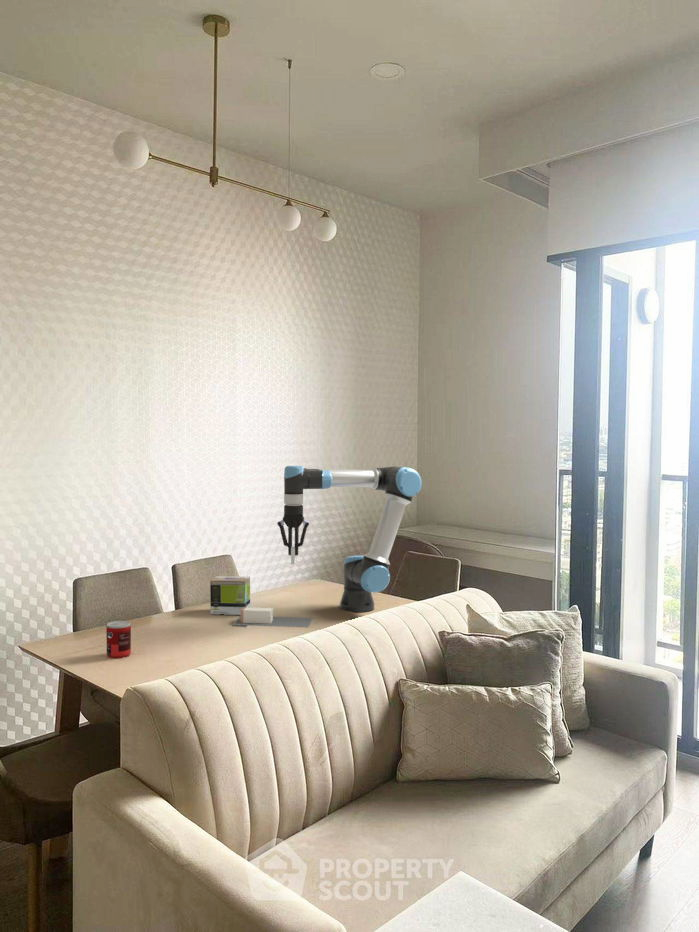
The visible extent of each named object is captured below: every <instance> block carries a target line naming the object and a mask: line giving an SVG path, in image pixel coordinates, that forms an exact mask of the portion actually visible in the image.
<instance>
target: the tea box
mask: <svg viewBox="0 0 699 932" xmlns="http://www.w3.org/2000/svg"><path fill="white" fill-rule="evenodd" d="M209 582H210V583H209V584H210V585H209V587H210V588H209V591H210V592H209V593H210V594H209V596H210V597H209V599H210V601H209V602H210V615H220V614H224V615H226V616H227V615H228V616H229V615H231V616H241V610H242V609H243V608H244V607H251V577H250V576H239V575H238V576H236V575H235V576H225V575H216V576H215V577H214V578H211V580H209Z"/></svg>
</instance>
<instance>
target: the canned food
mask: <svg viewBox="0 0 699 932" xmlns="http://www.w3.org/2000/svg"><path fill="white" fill-rule="evenodd" d="M105 630H106V631H105V632H106V637H105V638H106V656H107V658H109V657H110V659H123V657H125V658H128V657H129V656H130V655H131V653H132V650H131V649H132V643H131V642H132V633H131V632H132V626H131V622H130V621H127V620H115V621H109V622H107V624H106V629H105ZM127 656H128V657H127Z"/></svg>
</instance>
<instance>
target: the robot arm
mask: <svg viewBox="0 0 699 932" xmlns="http://www.w3.org/2000/svg"><path fill="white" fill-rule="evenodd" d="M283 472H284V473H283V481H284V482H283V483H284V484H283V485H284V492H283V504H285V505H284V506H283V517H282V520H280V521H278V522H277V523H276V524H277V526H278V527H279V530H280V534H281V538H282V544H283V546H285V547H287V548H288V549H287V550H288V551H287V552H288V553H287V554H288V556H290V564H291V565H295V564H296V563H297V561H296V559H297V558H296V556H298V555H299V547H303V545H304V542H305V537H306V534H307V529H308V527H309V526H310V524H311V523H310V521H308V520H305V517H304V506H303V504H304V490H325V489H327V490H328V489H330V488H370V489H371V490H372V491H384V494H385V498H386V501H385V503H384V507H383V509H382V513H381V515H380V519H379V521H378V525H377V527H376V530H375V534H374V535H373V539H372V542H371V545H370V548H369V551H368V552H367V553H365V554H363V555H350V556H346V557H345V558H344V561H343V562H344V563H343V593H342V594H341V599H340V602H339V609H340V610H341V611H347V612H353V613H366V612H371V611H373V610H375V601H374V600H375V599H374V597H373V594H372V593H375V594H376V593H380V592H382V591H384V590H385V589H386V588H387V587H388V585H389V583H390V581H391V574H390V571H389V569H390V565H391V563H390V560H389V557H390V555H391V552H392V549H393V546H394V542H395V539H396V538H397V535H398V531H399V528H400V525H401V522H402V519H403V516H404V513H405V510H406V506H407V505H409V504H411V503H412V501H413V498H414V496H416V495H417V494H419V492H420V491H421V489H422V486H423V485H422V484H423V483H422V482H423V481H422V478H421V475H420V474H419V472H418V471H416V469H414V468H411V467H408V466H407V467H406V466H405V467H404V466H386V467H372V468H371V469H342V468H341V469H340V468H338V469H337V468H336V469H334V468H333V469H332V468H330V469H329V468H306V467H304V466H303V465H287V466H285V467H284V471H283ZM284 525H286V527H287V533H288V536H287V534H286V531H285V527H284ZM301 525H303V528H302V532H301V536H300V539H299V533H300V527H301ZM293 529H294V546H293Z"/></svg>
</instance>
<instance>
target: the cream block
mask: <svg viewBox="0 0 699 932" xmlns="http://www.w3.org/2000/svg"><path fill="white" fill-rule="evenodd" d="M240 616H241V623H269V624H271V622H272V621H273V617H274V607H251V606H250V607H244V608H243V609H242V610H241V615H240Z"/></svg>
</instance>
